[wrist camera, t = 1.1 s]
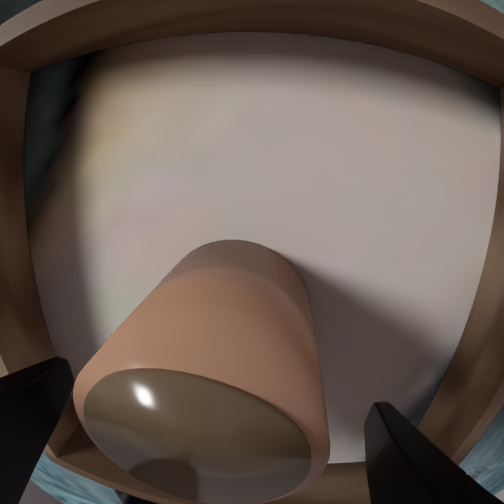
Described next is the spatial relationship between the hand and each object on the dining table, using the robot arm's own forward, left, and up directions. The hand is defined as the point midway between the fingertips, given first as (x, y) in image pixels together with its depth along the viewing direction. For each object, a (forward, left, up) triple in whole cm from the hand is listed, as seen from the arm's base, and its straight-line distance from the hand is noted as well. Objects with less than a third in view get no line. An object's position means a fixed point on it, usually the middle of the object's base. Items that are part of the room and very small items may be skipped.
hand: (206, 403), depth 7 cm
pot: (0, 0, -5) cm, 5 cm away
